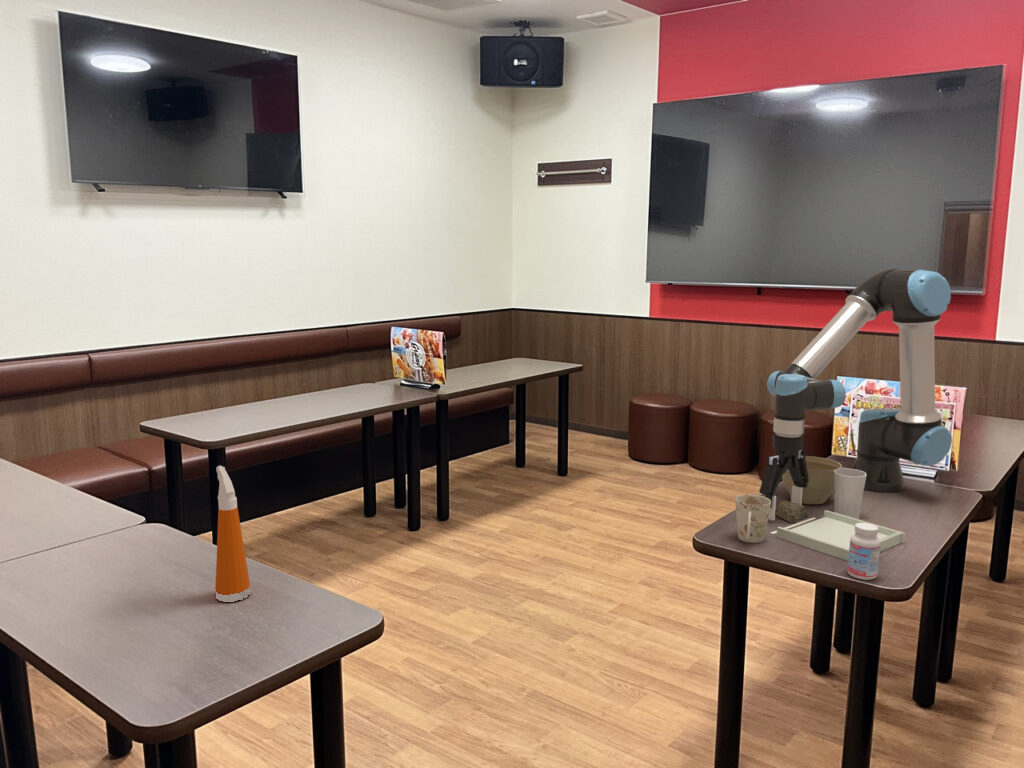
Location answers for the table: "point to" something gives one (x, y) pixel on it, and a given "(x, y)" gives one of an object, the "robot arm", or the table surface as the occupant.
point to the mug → (752, 517)
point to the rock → (791, 511)
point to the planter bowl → (815, 480)
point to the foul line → (795, 524)
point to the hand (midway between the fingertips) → (782, 514)
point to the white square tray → (836, 535)
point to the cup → (848, 491)
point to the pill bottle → (864, 552)
